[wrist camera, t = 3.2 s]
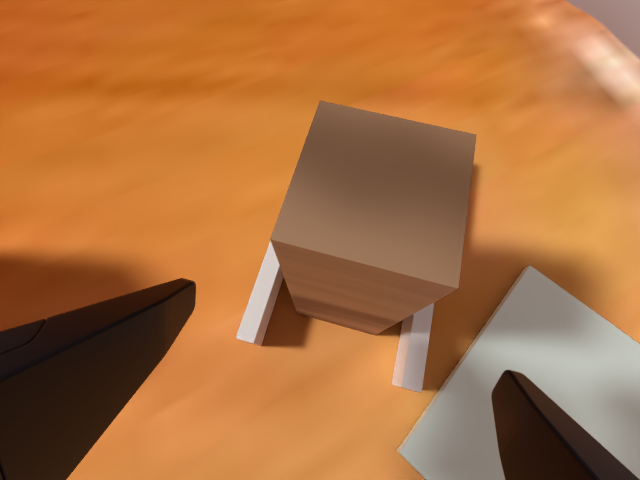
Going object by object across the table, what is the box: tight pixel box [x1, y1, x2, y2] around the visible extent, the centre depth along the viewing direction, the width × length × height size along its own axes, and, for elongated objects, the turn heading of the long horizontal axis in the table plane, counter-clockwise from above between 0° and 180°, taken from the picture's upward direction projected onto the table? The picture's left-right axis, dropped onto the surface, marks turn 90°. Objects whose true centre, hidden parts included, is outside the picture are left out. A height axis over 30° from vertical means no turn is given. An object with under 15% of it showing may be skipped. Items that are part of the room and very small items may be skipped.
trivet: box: [397, 265, 640, 480], centre depth 17 cm, size 14×14×1 cm
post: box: [270, 101, 476, 335], centre depth 15 cm, size 5×5×12 cm
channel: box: [236, 241, 434, 393], centre depth 21 cm, size 16×10×2 cm, turn 165°
